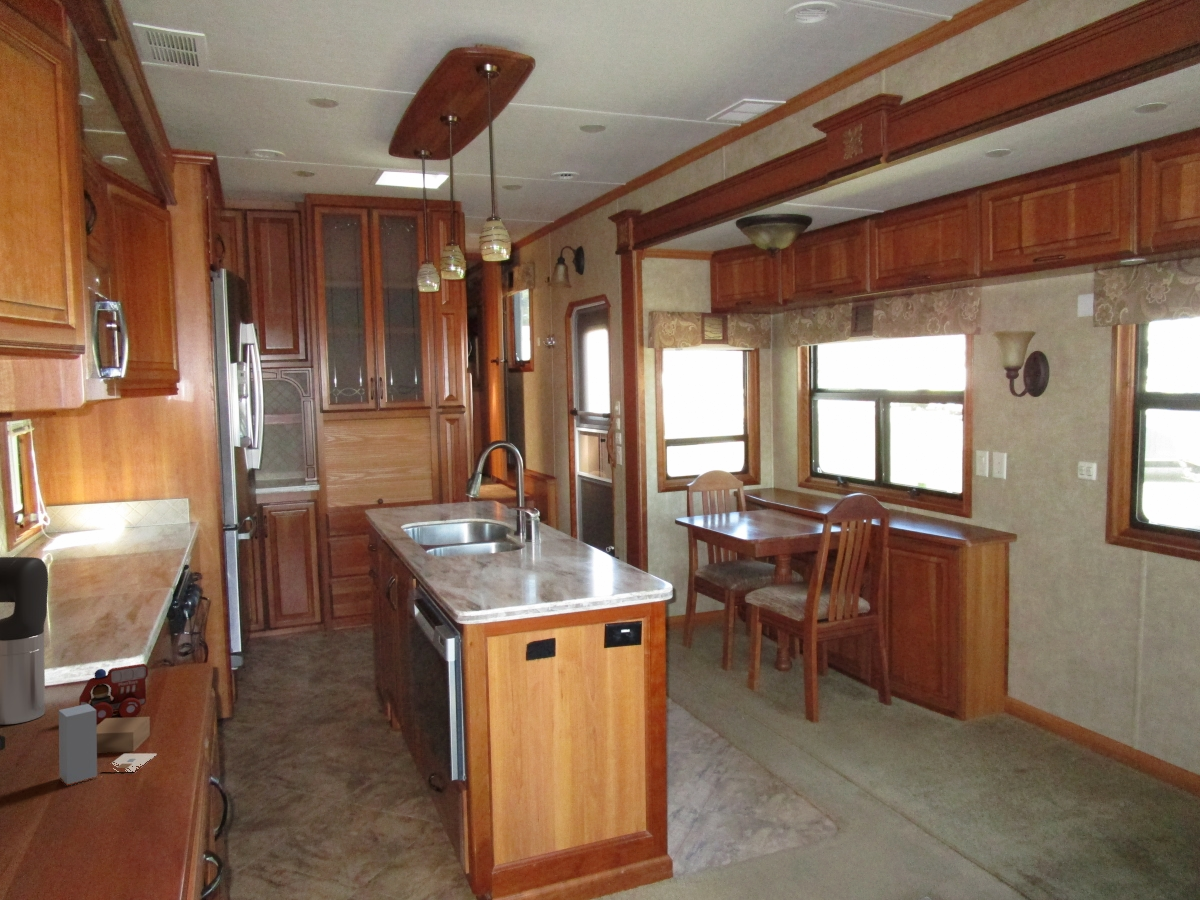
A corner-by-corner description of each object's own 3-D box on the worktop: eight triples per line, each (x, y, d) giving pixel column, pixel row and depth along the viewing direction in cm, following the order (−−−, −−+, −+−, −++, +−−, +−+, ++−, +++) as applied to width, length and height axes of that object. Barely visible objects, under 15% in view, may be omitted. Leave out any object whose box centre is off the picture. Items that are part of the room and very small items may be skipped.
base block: (87, 755, 154) (87, 733, 154) (105, 738, 162) (105, 718, 162) (133, 753, 156) (133, 732, 155) (149, 736, 164) (149, 716, 163)
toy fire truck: (79, 716, 173) (78, 666, 173) (147, 705, 180) (146, 658, 179) (79, 727, 167) (78, 676, 167) (149, 715, 174) (148, 666, 174)
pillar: (67, 786, 141) (66, 716, 140) (59, 778, 144) (58, 710, 143) (97, 778, 144) (96, 710, 144) (88, 770, 147) (88, 703, 147)
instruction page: (99, 773, 146) (99, 771, 146) (124, 754, 154) (124, 752, 154) (134, 773, 146) (134, 771, 146) (157, 754, 154) (156, 753, 154)
